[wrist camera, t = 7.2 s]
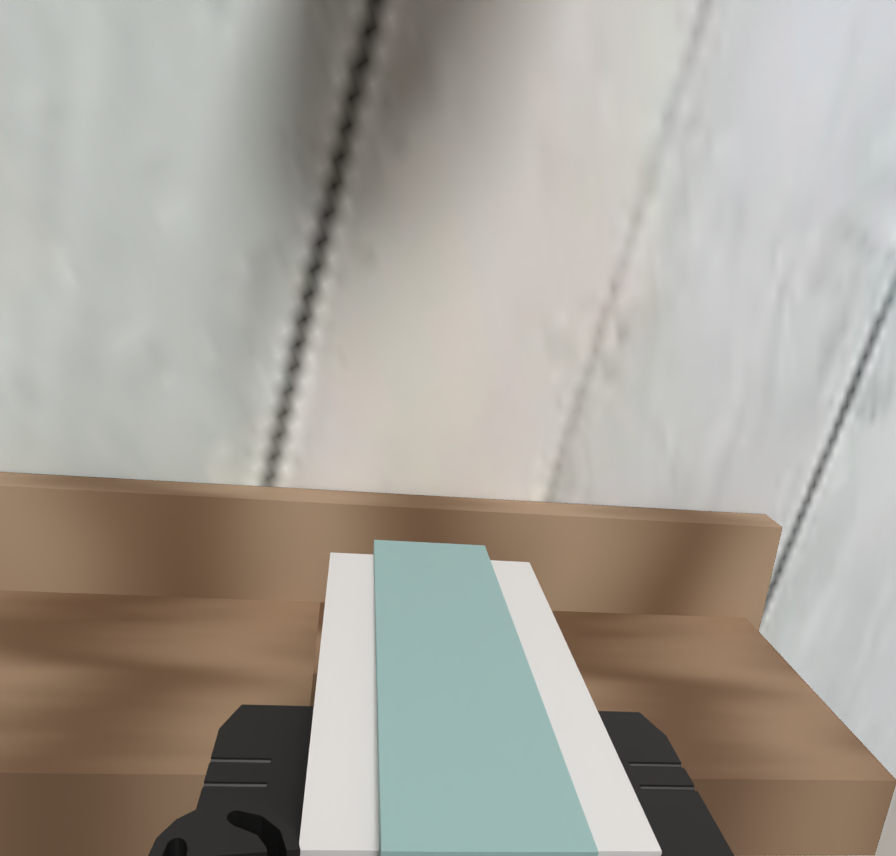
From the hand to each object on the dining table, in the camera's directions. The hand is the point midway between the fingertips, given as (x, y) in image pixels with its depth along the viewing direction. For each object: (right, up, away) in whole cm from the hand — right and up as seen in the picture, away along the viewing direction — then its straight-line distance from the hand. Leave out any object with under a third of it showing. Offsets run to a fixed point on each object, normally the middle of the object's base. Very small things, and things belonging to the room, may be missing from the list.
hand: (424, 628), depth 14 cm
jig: (-2, -2, +10) cm, 10 cm away
